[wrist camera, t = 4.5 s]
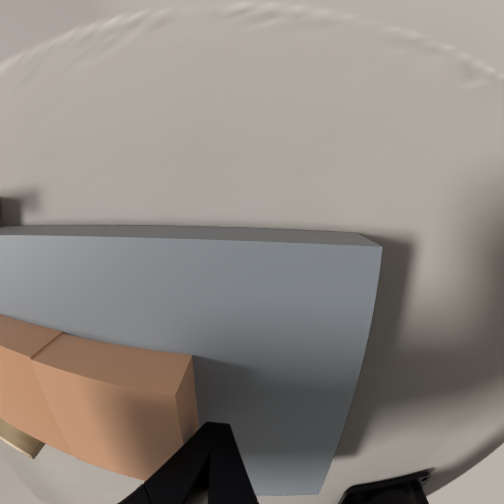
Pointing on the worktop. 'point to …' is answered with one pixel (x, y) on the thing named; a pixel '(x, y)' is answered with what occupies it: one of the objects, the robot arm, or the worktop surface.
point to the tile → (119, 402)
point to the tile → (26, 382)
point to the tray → (20, 438)
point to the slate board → (218, 322)
